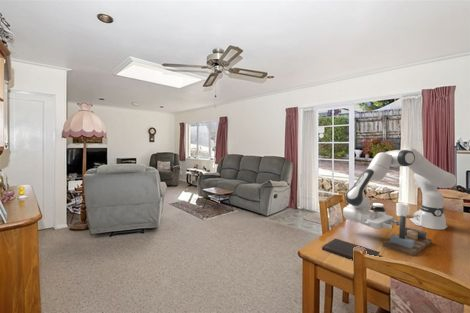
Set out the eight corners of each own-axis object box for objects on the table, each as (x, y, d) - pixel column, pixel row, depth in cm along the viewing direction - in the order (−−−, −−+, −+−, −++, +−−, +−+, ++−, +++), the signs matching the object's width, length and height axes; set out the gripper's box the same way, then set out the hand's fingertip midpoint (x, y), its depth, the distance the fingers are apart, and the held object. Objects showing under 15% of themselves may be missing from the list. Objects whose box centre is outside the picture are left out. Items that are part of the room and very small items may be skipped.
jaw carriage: (411, 248, 120) (412, 219, 120) (389, 241, 129) (390, 214, 128) (414, 246, 123) (415, 218, 122) (393, 240, 131) (394, 213, 130)
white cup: (409, 218, 178) (410, 205, 177) (397, 216, 180) (397, 204, 180) (405, 215, 185) (406, 202, 185) (394, 214, 188) (394, 202, 187)
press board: (412, 256, 117) (413, 244, 116) (382, 246, 128) (383, 235, 128) (431, 242, 132) (431, 232, 132) (403, 235, 144) (403, 225, 144)
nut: (404, 236, 137) (405, 229, 137) (414, 237, 136) (414, 230, 136) (409, 239, 132) (410, 233, 132) (419, 240, 131) (419, 233, 131)
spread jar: (386, 219, 175) (386, 204, 174) (383, 223, 166) (384, 207, 166) (368, 216, 183) (368, 201, 182) (365, 219, 174) (365, 204, 173)
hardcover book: (335, 242, 135) (335, 238, 135) (379, 256, 118) (379, 251, 118) (321, 250, 124) (322, 246, 124) (368, 267, 107) (368, 262, 107)
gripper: (361, 216, 133) (388, 223, 122) (378, 210, 145) (403, 216, 133) (361, 227, 133) (387, 235, 122) (377, 220, 145) (403, 227, 133)
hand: (396, 225), depth 128 cm, fingers open, 8 cm apart
